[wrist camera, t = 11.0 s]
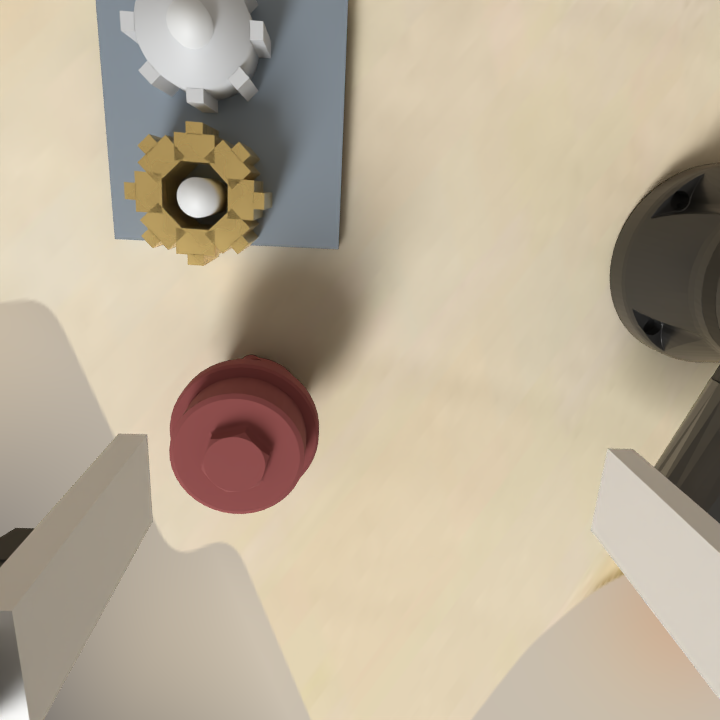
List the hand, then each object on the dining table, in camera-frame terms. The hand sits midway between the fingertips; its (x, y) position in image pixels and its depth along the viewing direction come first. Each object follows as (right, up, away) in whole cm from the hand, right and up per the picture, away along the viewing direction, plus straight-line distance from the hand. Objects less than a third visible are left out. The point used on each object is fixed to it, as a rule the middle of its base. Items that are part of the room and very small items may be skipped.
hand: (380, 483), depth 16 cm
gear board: (-10, +20, +23) cm, 32 cm away
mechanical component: (-9, +1, +29) cm, 31 cm away
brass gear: (-11, +15, +23) cm, 30 cm away
